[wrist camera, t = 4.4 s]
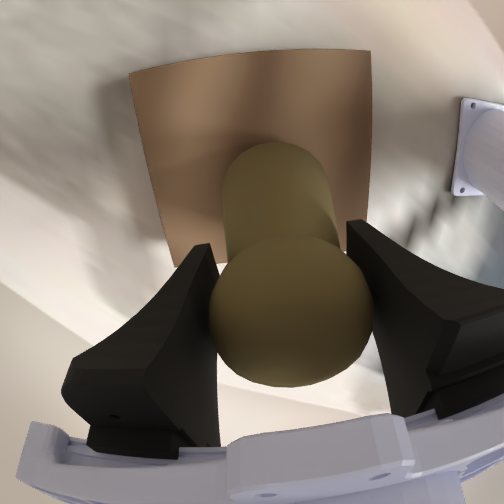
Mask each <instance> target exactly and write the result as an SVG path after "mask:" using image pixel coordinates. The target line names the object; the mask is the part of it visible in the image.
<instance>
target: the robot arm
mask: <svg viewBox="0 0 504 504" xmlns="http://www.w3.org/2000/svg"><path fill="white" fill-rule="evenodd" d="M471 103H473V106H472V108H471ZM461 188H462V190H461V191H460V189H461ZM451 192H452V193H453V194H454V195H455V196H471V195H486V196H487V197H488V198H489V199H490V200H491V201H493V202H494V203H495V204H496V205H497V206H498V207H500V208H501V209H502V210H503V211H504V105H502V104H498V103H493V102H488V101H483V100H477V99H471V98H463V99H462V101H461V111H460V124H459V135H458V144H457V152H456V160H455V167H454V174H453V180H452V186H451ZM346 255H347V256H348V257H349V258H350V259H351V260H352V261H353V262H354V263H355V264H356V265H357V266H358V267H359V268H360V269H361V271H362V273H363V275H364V278H365V280H366V282H367V285H368V287H369V290H370V292H371V295H372V297H373V303H374V318H373V330H372V332H373V335H374V338H375V341H376V345H377V348H378V352H379V356H380V359H381V363H382V368H383V372H384V376H385V381H386V386H387V391H388V396H389V401H390V407H391V414H389V413H385V414H378V415H370V416H365V417H360V418H356V419H352V420H346V421H341V422H336V423H331V424H325V425H319V426H313V427H307V428H300V429H293V430H285V431H276V432H267V433H260V434H255V435H250V436H244V437H242V438H239V439H237V440H235V441H233V442H231V443H230V444H229V445H227V447H221V443H220V433H219V420H218V401H217V350H216V348H215V346H214V344H213V341H212V339H211V336H210V330H209V325H208V324H209V303H210V298H211V293H212V291H213V289H214V287H215V285H216V283H217V281H218V279H219V277H220V275H219V272H218V268H217V265H216V262H215V258H214V255H213V252H212V248H211V245H210V243H205V244H199V245H194V247H193V248H192V249H191V250H190V252H189V253H188V254H187V256H186V257H185V259H184V260H183V261H182V263H181V264H180V265H179V267H178V268H177V269H176V271H175V272H174V273H173V275H172V276H171V277H170V278H169V280H168V281H167V282H166V283H165V284H164V285H163V287H162V288H161V289H160V290H159V291H158V293H157V294H156V295H155V296H154V297H153V298H152V299H151V300H150V301H149V302H148V303H147V304H146V305H145V306H144V307H143V308H142V309H141V310H140V311H139V312H138V313H137V314H136V315H135V316H133V317H132V318H131V319H130V320H129V321H128V322H126V323H125V324H124V325H123V326H122V327H120V328H119V329H118V330H117V331H115V332H114V333H113V334H111V335H110V336H108V337H107V338H105V339H104V340H103V341H101V342H100V343H98V344H96V345H95V346H93V347H92V348H90V349H88V350H86V351H85V352H83V353H81V354H80V355H78V356H76V357H74V358H73V359H72V361H71V364H70V367H69V369H68V372H67V375H66V378H65V380H64V383H63V386H62V389H61V394H62V397H63V398H64V400H65V402H66V403H67V404H68V405H69V406H70V408H72V409H73V410H74V411H75V412H76V413H77V414H78V415H79V416H81V417H82V418H83V419H84V420H85V421H86V422H87V423H89V424H90V429H89V434H88V438H87V439H80V438H75V437H69V435H68V434H67V433H66V432H64V431H63V430H62V429H60V428H58V427H56V426H54V425H50V424H44V423H40V422H35V421H32V422H31V424H30V427H29V431H28V434H27V437H26V441H25V444H24V447H23V450H22V454H21V458H20V461H19V465H18V469H17V473H16V478H17V479H18V480H20V481H22V482H24V483H25V484H27V485H29V486H31V487H33V488H35V489H37V490H39V491H41V492H43V493H45V494H47V495H49V496H51V497H53V498H56V499H58V500H60V501H63V502H67V503H69V504H466V503H465V498H464V495H463V490H462V486H461V483H462V482H464V481H466V480H468V479H470V478H472V477H474V476H476V475H478V474H480V473H482V472H484V471H486V470H488V469H489V468H491V467H493V466H495V465H497V464H498V463H500V462H502V461H504V289H501V288H497V287H492V286H488V285H484V284H481V283H478V282H475V281H472V280H469V279H466V278H463V277H460V276H458V275H455V274H453V273H450V272H448V271H446V270H443V269H441V268H439V267H437V266H435V265H433V264H431V263H429V262H427V261H425V260H423V259H421V258H420V257H418V256H416V255H414V254H413V253H411V252H410V251H408V250H406V249H405V248H403V247H402V246H400V245H398V244H397V243H395V242H394V241H392V240H391V239H390V238H388V237H387V236H385V235H384V234H382V233H381V232H380V231H378V230H377V229H375V228H374V227H372V226H371V225H370V224H368V223H367V222H365V221H364V220H362V219H358V220H352V221H346Z"/></svg>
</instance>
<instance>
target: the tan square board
mask: <svg viewBox="0 0 504 504" xmlns="http://www.w3.org/2000/svg"><path fill="white" fill-rule="evenodd" d="M129 78H130V83H131V89H132V94H133V100H134V105H135V110H136V115H137V120H138V125H139V130H140V134H141V139H142V144H143V148H144V153H145V157H146V161H147V166H148V170H149V174H150V178H151V182H152V186H153V191H154V194H155V198H156V202H157V206H158V210H159V214H160V218H161V221H162V225H163V229H164V232H165V236H166V239H167V243H168V247H169V250H170V253H171V257H172V260H173V264H174V267H179V265H180V264H181V263H182V261H183V260H184V259H185V257H186V256H187V254H188V253H189V252H190V250H191V249H192V248H193V247H194V245H199V244H205V243H210V245H211V248H212V252H213V255H214V258H215V262H216V264H218V263H228V262H227V252H226V242H225V231H224V220H223V210H222V198H221V194H222V181H223V178H224V176H225V174H226V172H227V170H228V167H229V165H230V164H231V163H232V162H233V161H234V160H235V159H236V158H237V157H238V156H239V155H240V154H241V153H242V152H244V151H246V150H248V149H250V148H252V147H254V146H256V145H259V144H264V143H269V142H282V143H290V144H294V145H296V146H298V147H300V148H303V149H305V150H307V151H309V152H310V153H311V154H312V155H313V156H314V157H315V158H316V159H317V160H318V161H319V162H320V163H321V165H322V167H323V169H324V171H325V173H326V175H327V177H328V181H329V186H330V191H331V196H332V202H333V207H334V213H335V218H336V224H337V230H338V236H339V242H340V249H341V250H342V251H346V221H352V220H358V219H362V220H364V221H365V222H366V220H367V209H368V197H369V182H370V165H371V139H372V76H371V51H365V50H345V49H291V50H271V51H257V52H246V53H237V54H228V55H220V56H213V57H206V58H200V59H194V60H188V61H182V62H177V63H172V64H167V65H162V66H158V67H153V68H149V69H145V70H141V71H137V72H133V73H129Z"/></svg>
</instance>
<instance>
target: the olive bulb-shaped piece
mask: <svg viewBox="0 0 504 504" xmlns="http://www.w3.org/2000/svg"><path fill="white" fill-rule="evenodd" d="M221 198H222V210H223V220H224V231H225V242H226V252H227V262H228V264H227V265H226V266H225V268H224V270H223V271H222V273H221V275H220V277H219V279H218V281H217V283H216V285H215V287H214V289H213V291H212V293H211V298H210V303H209V324H208V325H209V330H210V336H211V339H212V341H213V344H214V346H215V348H216V350H217V352H218V354H219V355H220V357H221V358H222V360H223V361H224V363H225V364H226V365H227V366H228V367H229V368H230V369H232V370H233V371H234V372H235V373H236V374H237V375H239V376H241V377H243V378H245V379H247V380H249V381H252V382H254V383H259V384H263V385H267V386H272V387H291V388H293V387H300V386H307V385H312V384H315V383H318V382H321V381H324V380H327V379H329V378H331V377H333V376H335V375H337V374H339V373H340V372H342V371H344V370H346V369H347V368H348V367H349V366H350V365H351V364H353V363H354V362H355V361H356V360H357V359H358V358H359V357H360V355H361V354H362V352H363V350H364V348H365V346H366V345H367V343H368V340H369V338H370V335H371V333H372V330H373V318H374V303H373V297H372V295H371V292H370V290H369V287H368V285H367V282H366V280H365V278H364V275H363V273H362V271H361V269H360V268H359V267H358V266H357V265H356V264H355V263H354V262H353V261H352V260H351V259H350V258H349V257H348V256H347V255H346V254H345V253H344V252H343V251H342V250H341V249H340V242H339V236H338V230H337V224H336V218H335V213H334V207H333V202H332V196H331V191H330V186H329V181H328V177H327V175H326V173H325V171H324V169H323V167H322V165H321V163H320V162H319V161H318V160H317V159H316V158H315V157H314V156H313V155H312V154H311V153H310V152H309V151H307V150H305V149H303V148H300V147H298V146H296V145H294V144H290V143H282V142H269V143H264V144H259V145H256V146H254V147H252V148H250V149H248V150H246V151H244V152H242V153H241V154H240V155H239V156H238V157H237V158H236V159H235V160H234V161H233V162H232V163H231V164H230V165H229V167H228V170H227V172H226V174H225V176H224V178H223V181H222V194H221Z"/></svg>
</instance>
